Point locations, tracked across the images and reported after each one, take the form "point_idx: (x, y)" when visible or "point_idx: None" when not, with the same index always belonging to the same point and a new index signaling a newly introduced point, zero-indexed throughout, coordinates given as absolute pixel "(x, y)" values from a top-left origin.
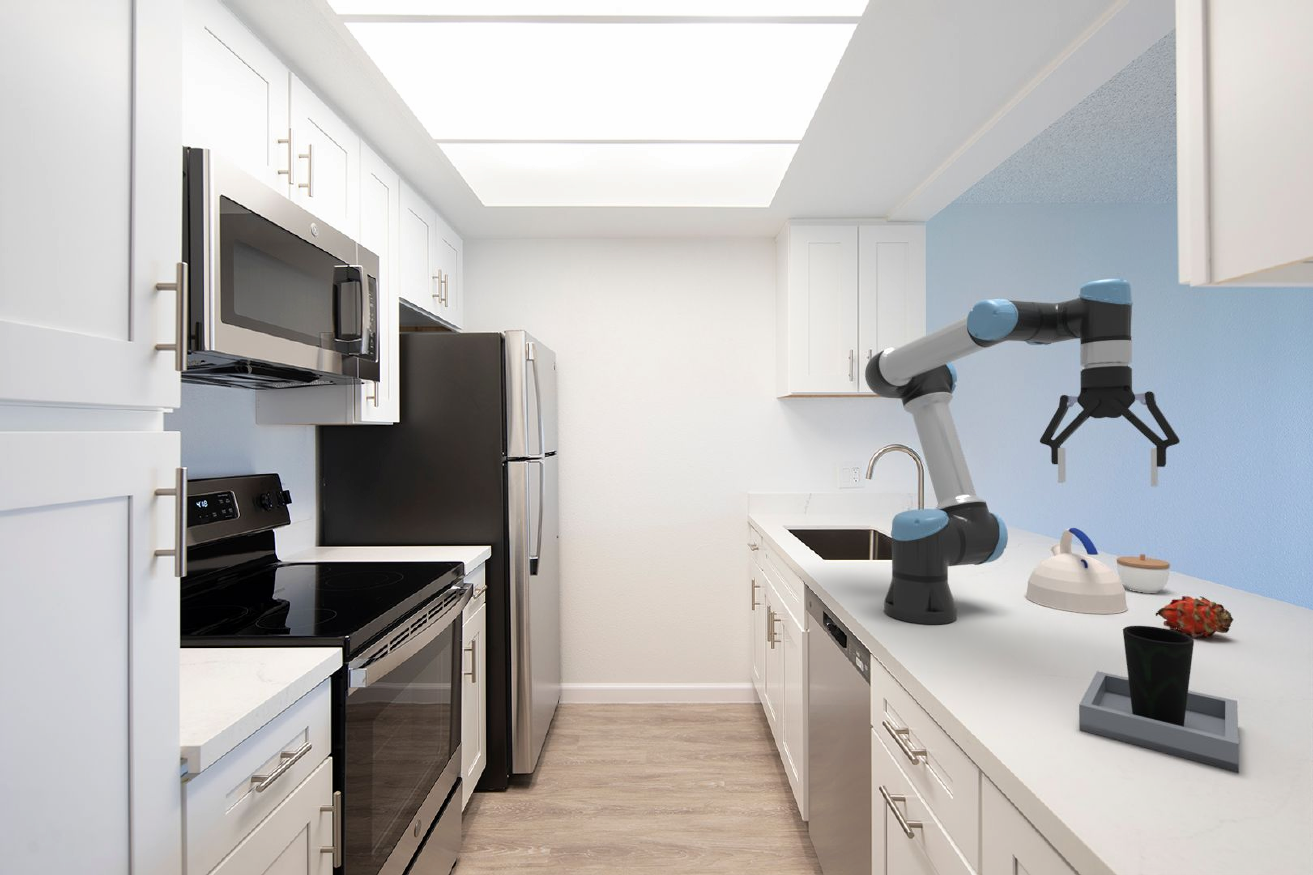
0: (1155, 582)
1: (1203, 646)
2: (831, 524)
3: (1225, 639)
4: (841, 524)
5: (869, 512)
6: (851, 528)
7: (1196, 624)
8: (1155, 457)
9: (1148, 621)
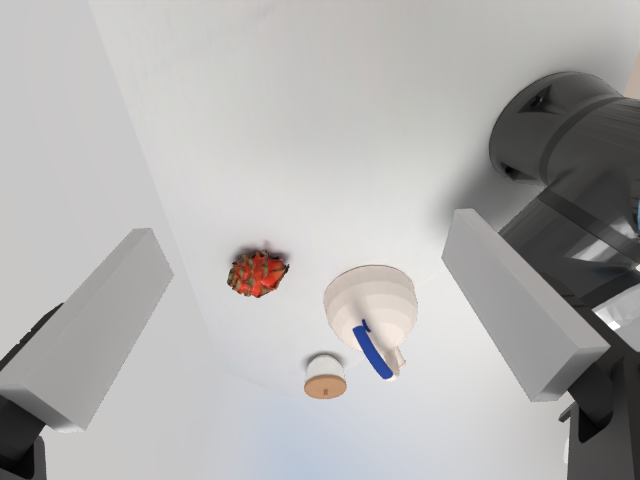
0: (313, 364)
1: (245, 231)
2: None
3: None
4: None
5: None
6: None
7: (253, 260)
8: (43, 329)
9: (301, 278)
